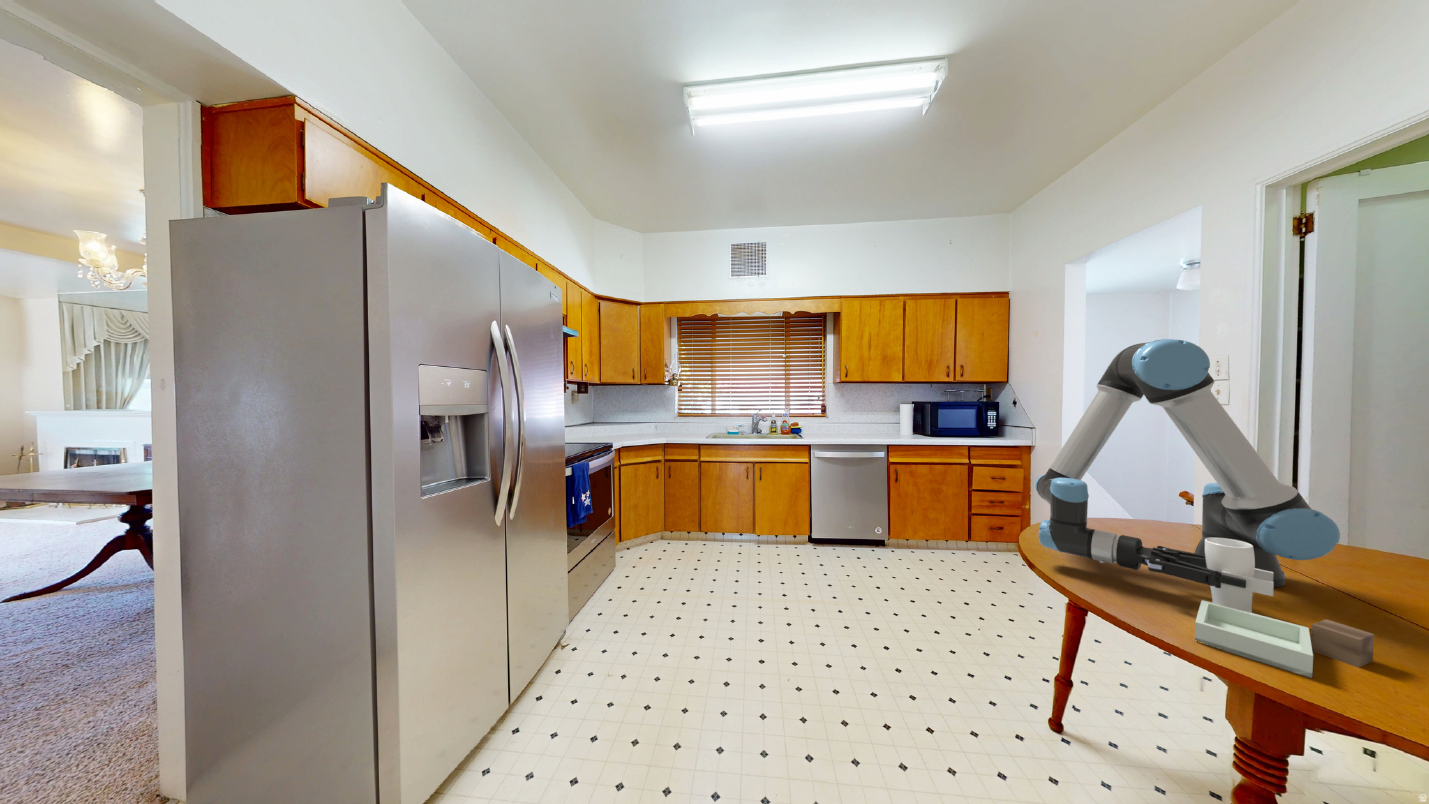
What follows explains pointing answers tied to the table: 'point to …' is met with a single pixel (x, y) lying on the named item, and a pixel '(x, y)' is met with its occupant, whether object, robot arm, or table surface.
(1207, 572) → the robot arm
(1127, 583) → the table surface
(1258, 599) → the table surface
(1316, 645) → the walnut block
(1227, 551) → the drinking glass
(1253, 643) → the tray
